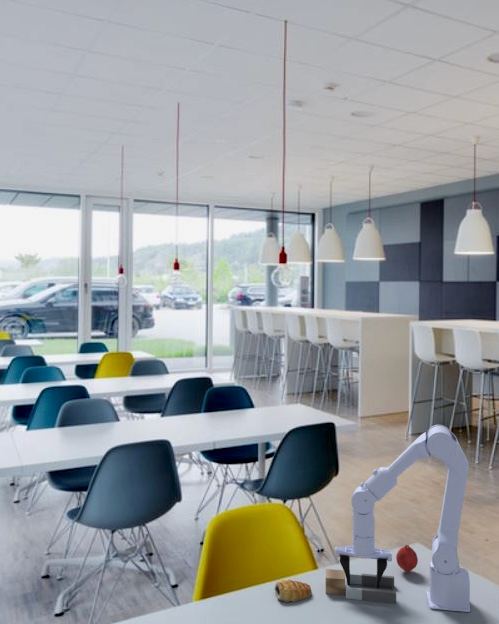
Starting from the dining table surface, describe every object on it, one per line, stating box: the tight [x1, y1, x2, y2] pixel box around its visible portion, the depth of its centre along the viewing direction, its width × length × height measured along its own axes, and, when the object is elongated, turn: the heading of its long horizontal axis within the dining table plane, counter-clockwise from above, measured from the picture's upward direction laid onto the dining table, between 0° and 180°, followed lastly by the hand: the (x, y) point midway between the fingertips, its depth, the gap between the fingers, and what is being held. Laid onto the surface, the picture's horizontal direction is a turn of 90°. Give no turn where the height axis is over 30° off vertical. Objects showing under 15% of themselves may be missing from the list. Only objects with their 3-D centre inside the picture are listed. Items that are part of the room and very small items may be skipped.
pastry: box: [274, 579, 313, 603], centre depth 150 cm, size 9×7×4 cm
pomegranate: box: [395, 543, 419, 573], centre depth 162 cm, size 6×6×8 cm
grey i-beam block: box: [345, 572, 397, 604], centre depth 151 cm, size 12×9×2 cm
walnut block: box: [325, 568, 346, 595], centre depth 153 cm, size 5×5×4 cm
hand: (363, 585), depth 152 cm, fingers open, 7 cm apart
